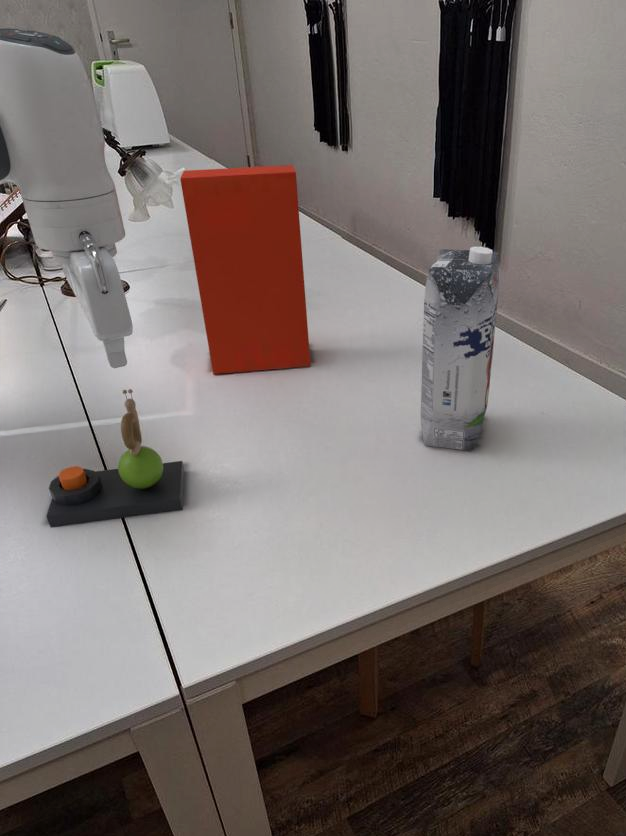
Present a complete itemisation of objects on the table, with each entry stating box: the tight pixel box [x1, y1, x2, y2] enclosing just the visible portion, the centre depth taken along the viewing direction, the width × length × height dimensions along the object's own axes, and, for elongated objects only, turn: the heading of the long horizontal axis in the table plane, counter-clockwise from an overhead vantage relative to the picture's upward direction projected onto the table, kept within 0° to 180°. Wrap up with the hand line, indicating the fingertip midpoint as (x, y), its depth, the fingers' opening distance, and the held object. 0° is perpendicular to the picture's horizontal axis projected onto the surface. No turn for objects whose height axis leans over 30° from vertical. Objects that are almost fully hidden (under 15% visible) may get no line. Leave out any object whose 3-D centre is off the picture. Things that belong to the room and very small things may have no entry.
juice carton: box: [420, 246, 500, 452], centre depth 89 cm, size 9×10×27 cm
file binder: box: [179, 164, 312, 375], centre depth 110 cm, size 8×17×32 cm, turn 99°
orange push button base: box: [46, 460, 186, 529], centre depth 84 cm, size 16×9×4 cm, turn 101°
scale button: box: [58, 465, 87, 490], centre depth 82 cm, size 3×3×2 cm
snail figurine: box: [117, 388, 164, 489], centre depth 81 cm, size 5×6×12 cm
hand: (110, 349), depth 74 cm, fingers open, 8 cm apart
